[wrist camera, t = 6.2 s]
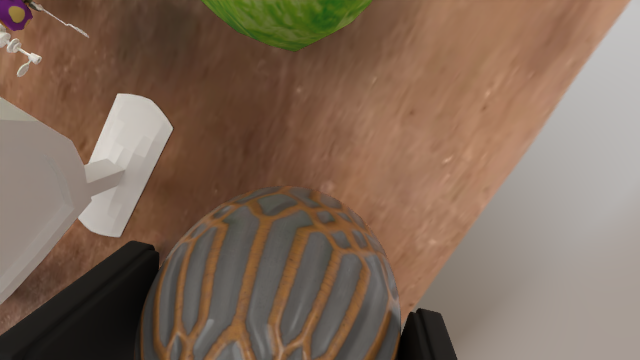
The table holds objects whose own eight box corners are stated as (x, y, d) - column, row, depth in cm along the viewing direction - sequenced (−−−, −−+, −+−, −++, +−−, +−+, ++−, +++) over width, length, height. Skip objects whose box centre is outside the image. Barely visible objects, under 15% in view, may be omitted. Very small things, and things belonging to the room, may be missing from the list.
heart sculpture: (111, 253, 31) (-201, 470, 13) (62, 224, 30) (-323, 408, 13) (183, 106, 26) (-141, 148, 9) (127, 71, 26) (-322, 42, 9)
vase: (256, 130, 12) (33, 251, 4) (423, 219, 12) (561, 513, 4) (190, 274, 14) (-47, 556, 6) (334, 346, 15) (305, 711, 6)
